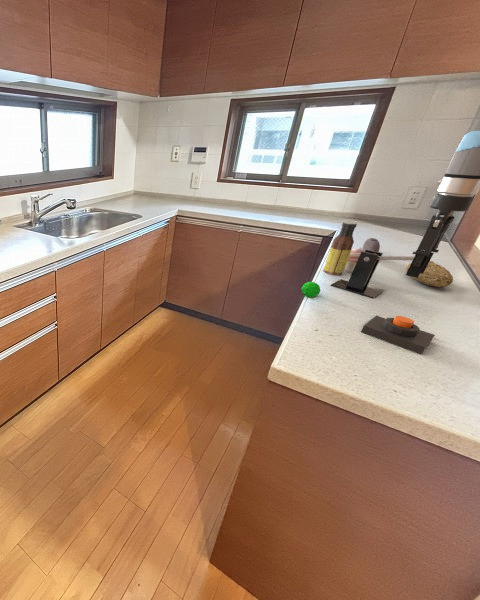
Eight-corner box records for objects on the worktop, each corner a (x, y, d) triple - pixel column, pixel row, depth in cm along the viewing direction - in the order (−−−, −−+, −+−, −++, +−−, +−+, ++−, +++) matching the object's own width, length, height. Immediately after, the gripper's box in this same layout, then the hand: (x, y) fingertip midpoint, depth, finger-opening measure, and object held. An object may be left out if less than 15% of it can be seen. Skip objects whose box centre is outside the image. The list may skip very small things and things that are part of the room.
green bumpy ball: (319, 296, 106) (324, 283, 104) (315, 300, 103) (320, 287, 101) (301, 291, 109) (306, 278, 107) (297, 295, 106) (302, 282, 104)
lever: (427, 261, 97) (428, 253, 96) (422, 264, 94) (424, 256, 94) (366, 259, 109) (367, 252, 108) (360, 262, 106) (361, 255, 105)
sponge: (402, 272, 132) (397, 274, 118) (417, 255, 128) (414, 254, 115) (443, 289, 124) (443, 292, 110) (460, 271, 120) (462, 272, 107)
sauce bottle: (341, 273, 125) (362, 222, 117) (341, 278, 121) (364, 225, 112) (321, 270, 129) (340, 220, 120) (321, 274, 124) (341, 223, 115)
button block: (430, 342, 83) (438, 328, 81) (420, 354, 77) (429, 341, 76) (372, 322, 91) (379, 309, 90) (360, 332, 86) (366, 319, 84)
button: (412, 326, 82) (415, 320, 82) (408, 330, 81) (412, 324, 80) (394, 320, 85) (397, 314, 84) (390, 324, 83) (393, 318, 82)
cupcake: (358, 278, 122) (369, 253, 117) (330, 270, 128) (340, 246, 124) (367, 273, 126) (379, 249, 122) (340, 266, 133) (350, 242, 129)
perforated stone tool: (377, 261, 140) (384, 246, 137) (362, 259, 143) (368, 243, 140) (374, 253, 151) (380, 238, 148) (359, 250, 154) (366, 236, 151)
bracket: (380, 294, 109) (400, 255, 103) (371, 300, 104) (391, 260, 98) (339, 282, 118) (355, 245, 112) (329, 287, 113) (345, 249, 107)
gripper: (443, 190, 95) (406, 264, 106) (427, 195, 86) (389, 276, 96) (480, 194, 90) (438, 271, 100) (468, 199, 80) (423, 284, 90)
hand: (414, 273), depth 98 cm, fingers closed on lever, 5 cm apart
